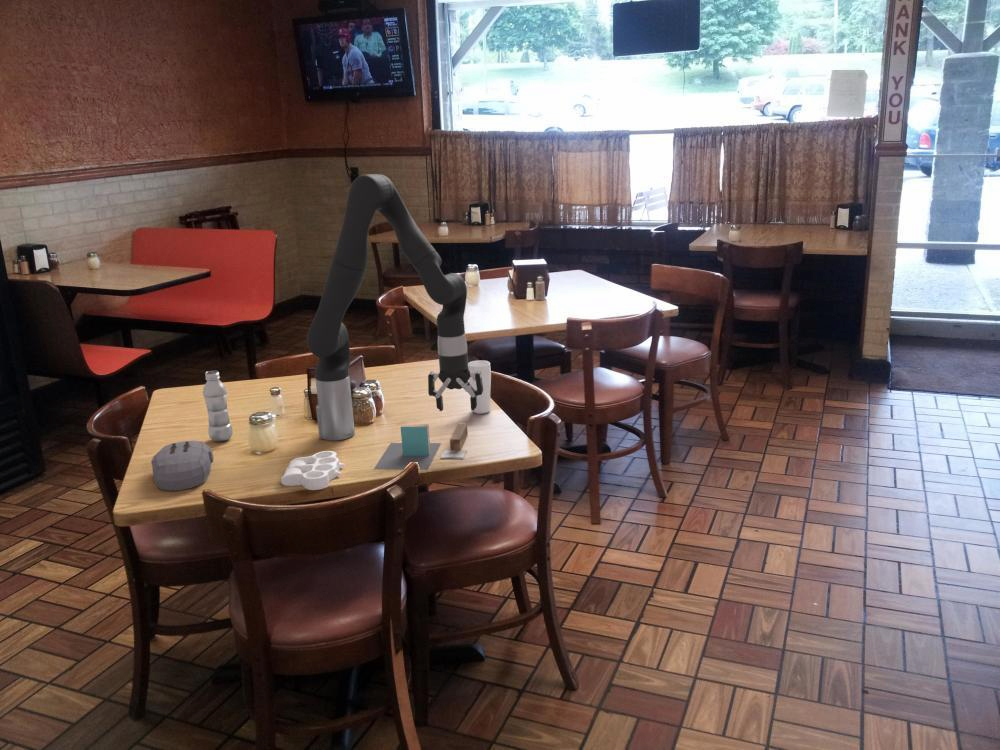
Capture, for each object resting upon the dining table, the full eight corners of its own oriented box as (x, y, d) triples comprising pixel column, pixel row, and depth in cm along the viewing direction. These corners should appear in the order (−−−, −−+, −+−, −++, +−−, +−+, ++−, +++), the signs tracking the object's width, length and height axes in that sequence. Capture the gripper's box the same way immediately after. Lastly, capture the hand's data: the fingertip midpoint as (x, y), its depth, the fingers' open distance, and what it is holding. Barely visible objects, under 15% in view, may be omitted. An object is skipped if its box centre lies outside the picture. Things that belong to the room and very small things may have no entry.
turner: (440, 460, 229) (439, 446, 228) (452, 437, 245) (451, 423, 244) (463, 461, 228) (462, 446, 227) (473, 437, 244) (473, 423, 243)
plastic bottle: (223, 434, 255) (213, 367, 250) (238, 438, 252) (229, 371, 246) (204, 441, 250) (194, 373, 245) (220, 445, 247) (209, 377, 241)
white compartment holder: (294, 464, 232) (349, 461, 232) (278, 493, 215) (338, 490, 215) (292, 452, 231) (348, 449, 231) (276, 480, 214) (337, 477, 214)
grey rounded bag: (157, 467, 234) (148, 497, 215) (152, 438, 231) (143, 466, 213) (216, 459, 237) (213, 488, 219) (212, 430, 235) (208, 457, 216)
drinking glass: (490, 415, 260) (487, 366, 256) (467, 415, 262) (464, 366, 257) (494, 408, 267) (492, 360, 262) (473, 407, 268) (470, 359, 264)
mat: (373, 470, 224) (373, 468, 224) (391, 444, 241) (390, 442, 241) (427, 471, 223) (427, 469, 222) (441, 444, 240) (441, 443, 239)
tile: (402, 455, 232) (400, 426, 230) (404, 452, 234) (402, 424, 232) (429, 455, 231) (426, 426, 229) (430, 452, 233) (428, 424, 231)
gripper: (422, 355, 227) (428, 415, 232) (477, 354, 225) (481, 414, 230) (428, 348, 234) (433, 405, 239) (481, 346, 232) (485, 405, 237)
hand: (457, 410), depth 235 cm, fingers open, 8 cm apart
